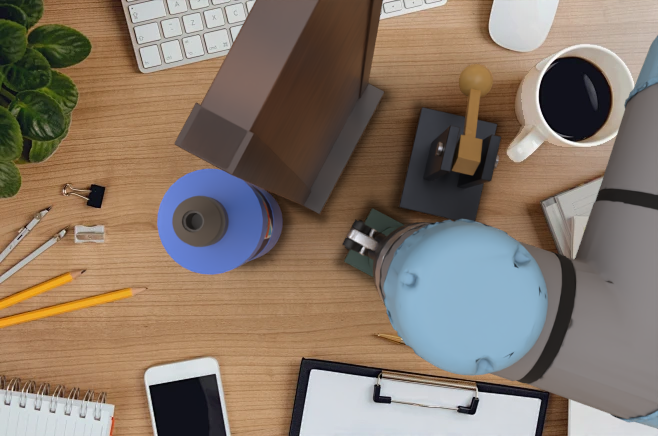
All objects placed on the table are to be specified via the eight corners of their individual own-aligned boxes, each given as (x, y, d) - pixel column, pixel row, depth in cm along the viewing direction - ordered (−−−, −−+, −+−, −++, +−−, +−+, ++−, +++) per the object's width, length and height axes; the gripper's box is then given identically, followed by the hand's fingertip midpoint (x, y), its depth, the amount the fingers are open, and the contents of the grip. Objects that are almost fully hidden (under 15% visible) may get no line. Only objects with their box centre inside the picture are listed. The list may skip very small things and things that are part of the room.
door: (331, 67, 72) (308, -218, 26) (383, 95, 72) (457, -142, 25) (268, 187, 73) (129, 120, 26) (320, 214, 72) (276, 199, 25)
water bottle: (207, 263, 73) (136, 284, 48) (203, 185, 73) (130, 164, 48) (285, 259, 72) (255, 277, 47) (281, 180, 73) (249, 158, 48)
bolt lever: (456, 77, 68) (465, 53, 64) (488, 84, 68) (499, 60, 64) (442, 172, 61) (452, 151, 58) (478, 180, 61) (489, 160, 58)
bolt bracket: (420, 108, 72) (438, 81, 58) (495, 125, 72) (531, 102, 58) (397, 207, 72) (410, 203, 58) (472, 224, 72) (503, 225, 58)
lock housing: (446, 248, 72) (452, 249, 68) (418, 300, 72) (422, 304, 68) (371, 208, 72) (373, 207, 68) (343, 260, 72) (343, 262, 68)
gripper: (532, 270, 44) (465, 253, 67) (371, 185, 44) (361, 198, 68) (482, 362, 44) (433, 313, 68) (323, 277, 44) (329, 258, 68)
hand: (397, 256), depth 68 cm, fingers closed
